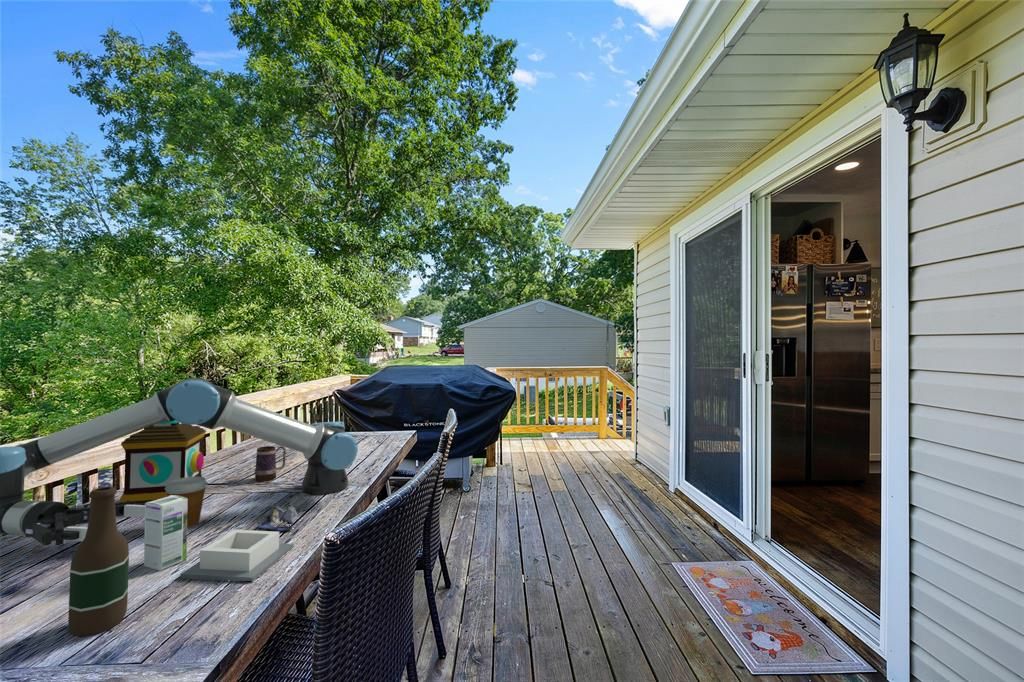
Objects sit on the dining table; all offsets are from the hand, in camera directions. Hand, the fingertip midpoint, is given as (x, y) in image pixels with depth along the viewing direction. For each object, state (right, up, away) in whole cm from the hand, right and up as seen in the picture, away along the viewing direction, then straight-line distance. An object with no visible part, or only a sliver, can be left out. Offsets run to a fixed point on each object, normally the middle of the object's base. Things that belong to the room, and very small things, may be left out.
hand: (125, 522), depth 103 cm
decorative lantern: (-20, -9, +38) cm, 44 cm away
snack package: (+24, -10, +22) cm, 34 cm away
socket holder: (+26, -9, 0) cm, 28 cm away
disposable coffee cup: (-2, -9, +21) cm, 23 cm away
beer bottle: (+15, -9, -23) cm, 29 cm away
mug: (-2, -10, +65) cm, 65 cm away
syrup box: (+10, -9, -1) cm, 13 cm away
